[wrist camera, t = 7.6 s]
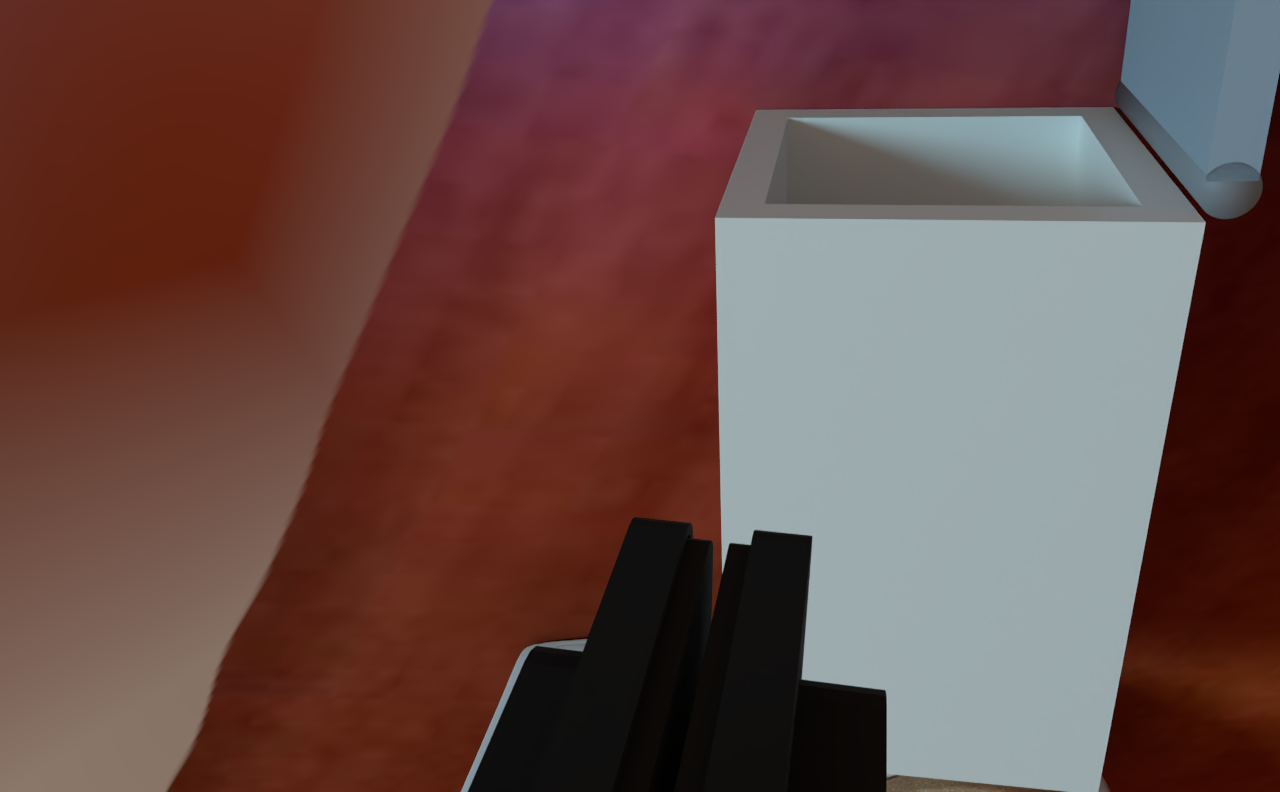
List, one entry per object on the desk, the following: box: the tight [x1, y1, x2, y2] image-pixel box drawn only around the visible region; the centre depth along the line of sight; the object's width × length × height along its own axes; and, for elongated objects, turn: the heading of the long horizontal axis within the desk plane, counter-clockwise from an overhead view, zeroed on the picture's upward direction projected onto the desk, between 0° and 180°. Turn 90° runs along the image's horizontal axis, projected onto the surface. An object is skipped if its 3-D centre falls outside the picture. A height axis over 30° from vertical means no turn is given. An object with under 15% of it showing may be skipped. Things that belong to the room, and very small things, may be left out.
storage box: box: [715, 107, 1206, 792], centre depth 32 cm, size 10×16×10 cm, turn 3°
